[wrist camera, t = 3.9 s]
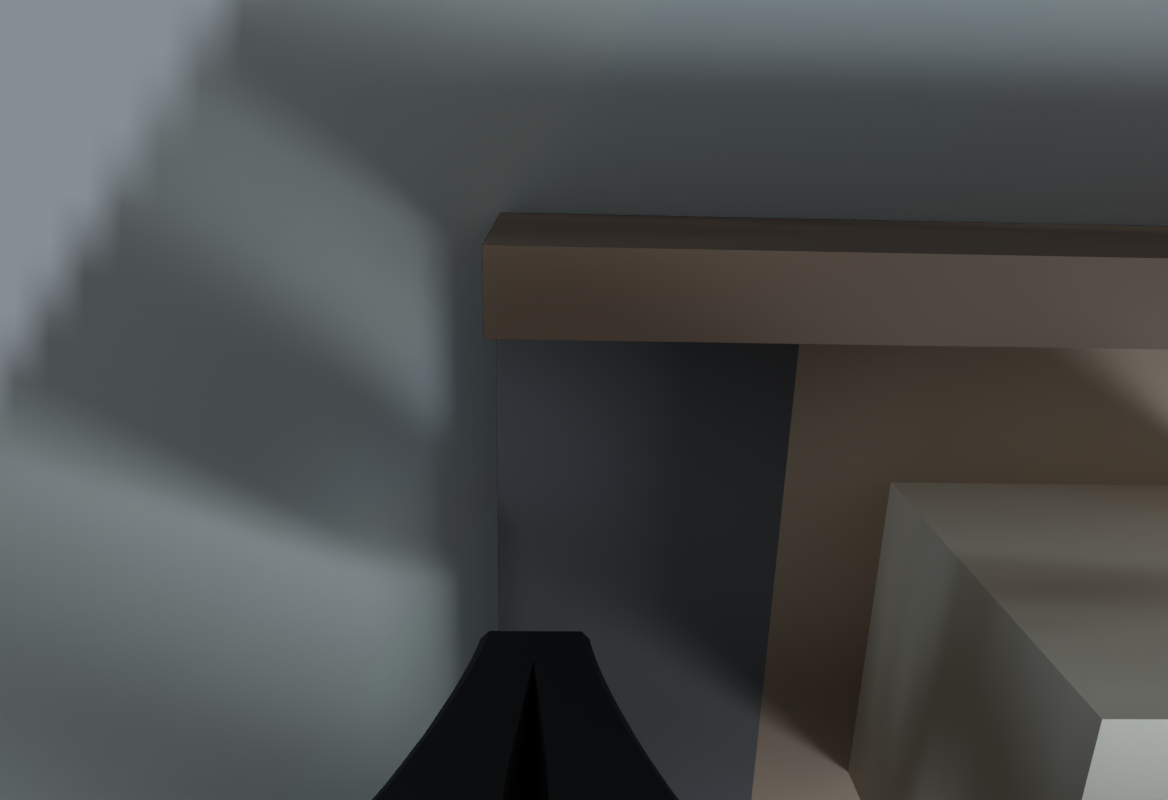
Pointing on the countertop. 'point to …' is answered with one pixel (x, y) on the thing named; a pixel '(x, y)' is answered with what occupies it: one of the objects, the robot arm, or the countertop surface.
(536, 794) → the robot arm
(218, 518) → the countertop surface
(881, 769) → the cream cube
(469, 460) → the countertop surface
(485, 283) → the wooden tray
